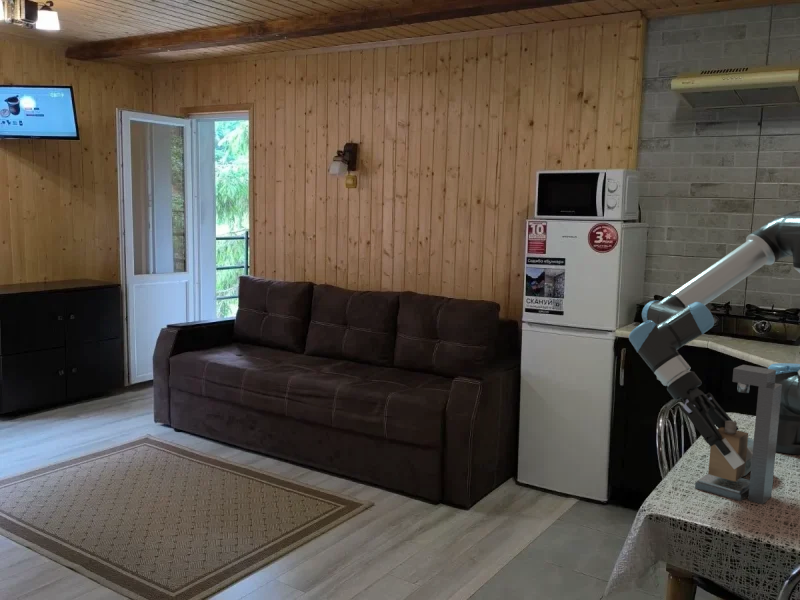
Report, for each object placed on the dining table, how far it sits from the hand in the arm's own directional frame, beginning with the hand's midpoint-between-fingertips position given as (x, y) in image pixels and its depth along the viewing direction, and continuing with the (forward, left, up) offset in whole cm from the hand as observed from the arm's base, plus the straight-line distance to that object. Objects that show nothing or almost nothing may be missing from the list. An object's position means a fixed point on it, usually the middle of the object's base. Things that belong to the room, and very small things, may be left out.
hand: (744, 462), depth 161 cm
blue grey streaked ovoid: (-14, -6, -8) cm, 17 cm away
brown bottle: (0, -4, -4) cm, 5 cm away
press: (0, -2, -7) cm, 8 cm away
